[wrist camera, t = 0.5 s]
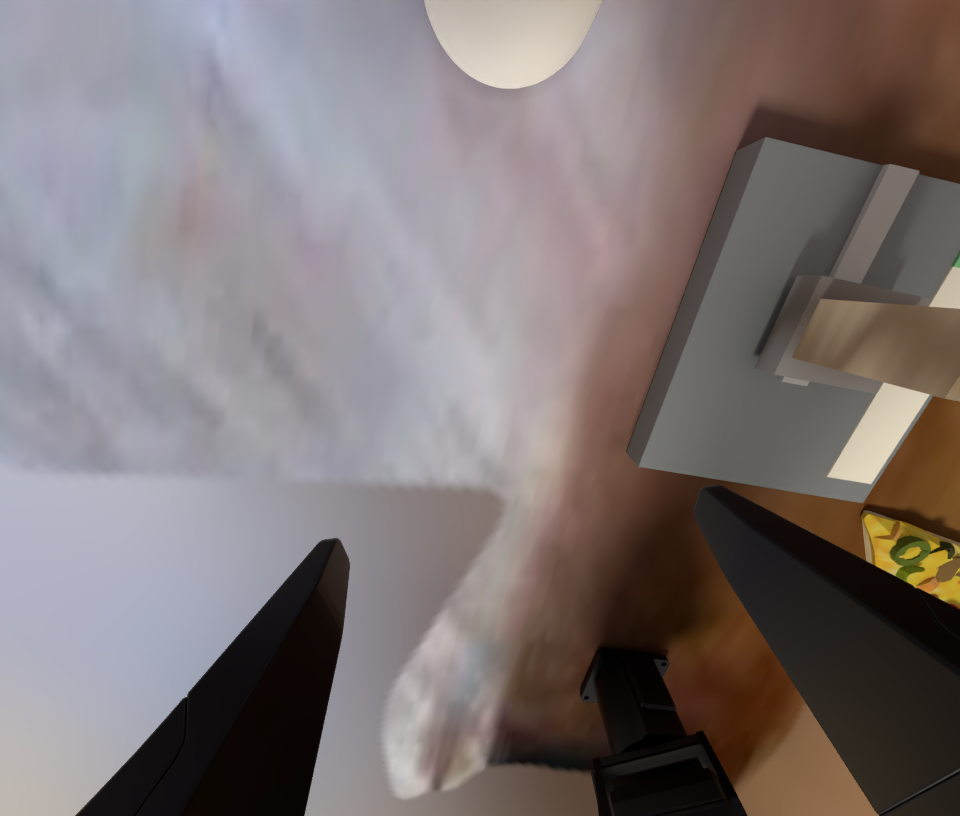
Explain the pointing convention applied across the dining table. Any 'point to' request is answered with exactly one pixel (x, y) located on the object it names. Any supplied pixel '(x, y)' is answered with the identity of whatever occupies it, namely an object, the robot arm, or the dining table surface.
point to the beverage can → (511, 36)
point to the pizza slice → (914, 555)
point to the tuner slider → (864, 338)
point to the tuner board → (758, 302)
